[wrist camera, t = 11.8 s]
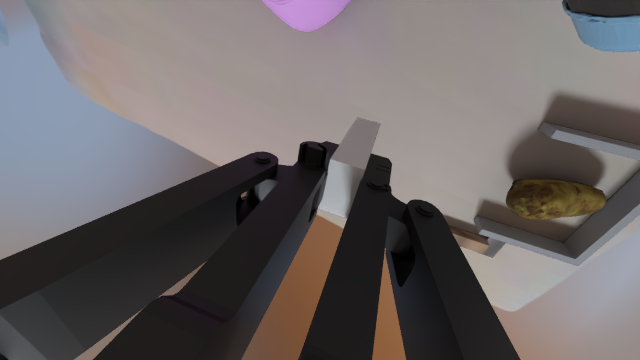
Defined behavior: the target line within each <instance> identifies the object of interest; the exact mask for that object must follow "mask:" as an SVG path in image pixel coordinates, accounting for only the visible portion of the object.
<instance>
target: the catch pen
mask: <svg viewBox="0 0 640 360" xmlns="http://www.w3.org/2000/svg"><path fill="white" fill-rule="evenodd" d="M538 130H540V131H541V132H542V133H544V134H545V135H547V136H548V137H550V138H552V139H556V140H560V141H564V142H568V143H572V144H576V145H580V146H584V147H588V148H592V149H596V150H600V151H604V152H608V153H612V154H616V155H620V156H624V157H628V158H632V159H636V160H640V145H636V144H632V143H628V142H624V141H620V140H616V139H611V138H607V137H603V136H599V135H595V134H591V133H587V132H582V131H578V130H574V129H570V128H566V127H562V126H558V125H554V124H549V123H545V122H543V123H542V124H541V126H540V127H539V129H538ZM639 215H640V170H639V171H638V172H637V173H636V174H635V175H634V176H633V177H632V178H631V179H630V180H629V181H628V182H627V183H626V184H625V185H624V186H623V187H622V188H620V189H619V190H618V191H617V192H616V193H615V194H614V195H613V196H612V197H611V198H610V199H609V200H608V201H607V202H606V204H605V206H604V207H603V208H602V209H600V210H599V211H596V212H595V213H594V214H593V215H592V216H591V217H590V218H589V219H588V220H587V221H586V222H585V223H584V224H583V225H582V226H581V227H579V228H578V229H577V230H576V231H575V232H574V233H573V234H572V235H571V236H570V237H569V238H568V239H567V240H566V241H565V242H564V243H561V242H558V241H555V240H552V239H549V238H546V237H542V236H539V235H536V234H533V233H530V232H527V231H523V230H520V229H517V228H514V227H511V226H507V225H504V224H501V223H498V222H495V221H492V220H488V219H485V218H482V217H479V216H477V217H476V218H475V219H474V222H475V225H476V228H477V231H478V233H479V234H481V235H484V236H487V237H490V238H493V239H496V240H499V241H502V242H505V243H508V244H511V245H514V246H517V247H521V248H524V249H527V250H530V251H533V252H536V253H539V254H542V255H545V256H548V257H551V258H554V259H557V260H560V261H563V262H567V263H570V264H573V265H576V266H579V265H580V264H581V263H583V262H584V261H585V260H586V259H587V258H589V257H590V256H591V255H592V254H593V253H595V252H596V251H597V250H598V249H599V248H600V247H602V246H603V245H604V244H605V243H606V242H608V241H609V240H610V239H611V238H612V237H614V236H615V235H616V234H617V233H618V232H620V231H621V230H622V229H623V228H624V227H626V226H627V225H628V224H629V223H630V222H631V221H633V220H634V219H635V218H636V217H637V216H639Z"/></svg>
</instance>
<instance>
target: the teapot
mask: <svg viewBox="0 0 640 360" xmlns="http://www.w3.org/2000/svg"><path fill="white" fill-rule="evenodd" d="M262 1H263V2H264V3H265V4H266V5H267V6H268V7H269V8H270V9H271V10H272V11H273V12H274V13H275V14H276V15H277V16H278V17H279V18H281V19H282V20H283V21H284V22H285V23H287V24H288V25H289V26H291V27H293V28H295V29H297V30H300V31H305V32H310V31H314V30H317V29H319V28H320V27H322V26H324V25H325V24H327V23H328V22H329V21H331V20H332V19H333V18H334V17H335V16H337V15H338V14H339V13H340V12H341V11H342V10H343V9H344V8H345V7H346V6H347V4H348V3H349V2H350V1H351V0H262Z"/></svg>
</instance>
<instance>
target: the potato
mask: <svg viewBox="0 0 640 360" xmlns="http://www.w3.org/2000/svg"><path fill="white" fill-rule="evenodd" d="M512 184H513V185H512V186H511V188H510V190H509V191H508V194H507V197H506V204H507V206H508V207H509V209H510V210H511V211H513V212H514V213H515V214H517V215H519V216H521V217H524V218H528V219H548V220H549V219H553V218H560V217H572V216H581V215H586V214H591V213H593V212H596V211H599V210H600V209H602V208H603V207H604V206H605V204H606V196H605V195H604V193H603V191H601V190H599V189H596V188H594V187H592V186H588V185H582V184H581V183H577V182H567V181H560V180H539V179H529V180H523V179H522V180H520V179H518V180H514V182H513V183H512Z"/></svg>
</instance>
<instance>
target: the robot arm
mask: <svg viewBox="0 0 640 360" xmlns="http://www.w3.org/2000/svg"><path fill="white" fill-rule="evenodd" d="M562 5H563V9H564V11H565V12H566V13H567V14H568V15H569V16H570V17H571V19H572V21H573V24H574V26H575V28H576V31H577V33H578V36H579V38H580V39H581V41H582V42H583V43H585V44H587V45H589V46H591V47H593V48H595V49H597V50H601V51H609V52H635V51H640V0H563V1H562ZM379 127H380V123H377V122H373V121H369V120H366V119H362V118H358V117H357V119H356V120H355V122H354V124H353V125H352V127H351V128H350V130H349V131H348V133H347V134H346V136H345V137H344V139H343V140H342V142H341V143H340V145H338V144H335V143H331V142H328V141H326V142H323V143H318V142H312V141H307V142H303V143H301V144H300V148H299V155H298V161H297V162H296V163H295V164H294V166H286V165H278V158H277V157H276V156H275V155H273V154H271V153H268V152H255V153H251V154H249V155H247V156H244V157H242V158H240V159H237V160H235V161H232V162H230V163H228V164H225V165H223V166H221V167H218V168H216V169H214V170H211V171H209V172H207V173H204V174H202V175H200V176H197V177H195V178H192V179H190V180H188V181H185V182H183V183H181V184H178V185H176V186H174V187H171V188H169V189H167V190H164V191H162V192H160V193H157V194H155V195H153V196H150V197H148V198H145V199H143V200H141V201H138V202H136V203H134V204H131V205H129V206H127V207H124V208H122V209H119V210H117V211H115V212H113V213H110V214H108V215H105V216H103V217H101V218H98V219H96V220H94V221H92V222H89V223H86V224H84V225H82V226H79V227H77V228H75V229H73V230H70V231H68V232H65V233H63V234H61V235H58V236H56V237H54V238H51V239H49V240H46V241H44V242H42V243H39V244H37V245H35V246H33V247H30V248H28V249H25V250H23V251H21V252H18V253H16V254H14V255H11V256H9V257H6V258H4V259H2V260H0V360H73V359H75V358H76V357H78V356H79V355H81V354H82V353H83V352H85V351H86V350H88V349H89V348H90V347H92V346H93V345H94V344H96V343H97V342H98V341H100V340H101V339H102V338H104V337H105V336H107V335H108V334H109V333H111V332H112V331H113V330H115V329H116V328H117V327H118V326H120V325H121V324H123V323H124V322H125V321H126V320H128V319H129V318H131V317H132V316H133V315H135V314H136V313H137V312H139V311H140V310H141V309H142V310H141V311H140V312H139V313H138V315H137V316H135V317H134V319H132V320H131V321H130V323H129V324H128V325H127V326H126V327H125V328H124V329H123V330H122V331H121V332H120V333H119V334H118V335H117V336H116V337H115V338H114V339H113V340H112V341H111V342H110V343H109V344H108V345H107V346H106V347H105V348H104V349H103V350H102V351H101V352H100V353H99V354H98V355H97V356H96V357H95V358H94V359H93V360H241V359H242V357H243V355H244V353H245V351H246V349H247V347H248V345H249V343H250V341H251V340H252V337H253V335H254V333H255V332H256V330H257V328H258V326H259V324H260V322H261V320H262V318H263V316H264V314H265V313H266V311H267V309H268V307H269V305H270V303H271V301H272V299H273V297H274V295H275V293H276V291H277V290H278V288H279V286H280V284H281V282H282V280H283V278H284V276H285V274H286V272H287V270H288V268H289V266H290V265H291V263H292V261H293V259H294V257H295V255H296V253H297V251H298V249H299V247H300V245H301V243H302V241H303V239H304V238H305V236H306V234H307V232H308V230H309V228H310V226H311V224H312V222H313V220H314V218H315V216H316V213H317V209H318V206H319V204H320V207H319V209H321V210H324V211H327V212H330V213H333V214H336V215H338V216H341V217H344V218H347V221H346V224H345V227H344V230H343V233H342V236H341V238H340V242H339V244H338V247H337V250H336V253H335V256H334V259H333V262H332V264H331V267H330V270H329V273H328V276H327V279H326V282H325V285H324V288H323V291H322V293H321V296H320V299H319V302H318V305H317V308H316V311H315V314H314V317H313V320H312V322H311V325H310V328H309V332H308V334H307V337H306V340H305V343H304V346H303V348H302V351H301V354H300V356H299V359H298V360H372V355H373V345H374V337H375V329H376V320H377V312H378V311H377V310H378V303H379V294H380V286H381V277H382V267H383V260H384V251H385V248H386V259H387V264H388V269H389V273H390V279H391V284H392V289H393V294H394V299H395V304H396V309H397V314H398V319H399V325H400V330H401V335H402V339H403V345H404V350H405V355H406V360H520V358H519V356H518V354H517V352H516V351H515V349H514V347H513V345H512V343H511V341H510V339H509V338H508V336H507V334H506V332H505V330H504V328H503V326H502V325H501V323H500V321H499V319H498V317H497V315H496V313H495V312H494V310H493V308H492V306H491V304H490V302H489V300H488V298H487V297H486V295H485V293H484V291H483V289H482V287H481V285H480V284H479V282H478V280H477V278H476V276H475V274H474V272H473V271H472V269H471V267H470V265H469V263H468V261H467V259H466V258H465V256H464V254H463V252H462V250H461V248H460V246H459V245H458V243H457V241H456V239H455V237H454V235H453V233H452V232H451V230H450V228H449V226H448V224H447V222H446V220H445V219H444V217H443V215H442V213H441V212H440V211H439V209H437V208H436V207H435V206H434V205H432V204H431V203H429V202H426V201H422V200H411V201H409V202H408V204H405V203H403V202H401V201H400V200H398V199H396V198H395V197H394V196H393V195H392V194H391V187H390V185H389V184H390V176H391V168H392V163H391V162H390V160H389V159H388V158H385V157H381V156H378V155H374V154H371V151H372V148H373V145H374V142H375V139H376V136H377V133H378V130H379ZM244 192H246V196H244V197H242V198H241V194H242V193H244ZM320 202H321V203H320ZM207 260H208V261H207ZM206 261H207V262H206ZM204 262H206V263H205V264H204V265H203V266H202V267H201V268H200V269H199V271H198V272H197V273H196V274H195V275H194V276H193V277H192V278H191V279H190V280H189V282H188V283H187V284H186V285H185V286H184V287H183V288H182V289H181V290H180V291H179V292H178V293H176V294H174V295H171V296H170V295H169V296H161V297H159V296H160V295H162V294H163V293H164V292H166V291H167V290H168V289H169V288H171V287H172V286H173V285H175V284H176V283H177V282H179V281H180V280H182V279H183V278H184V277H186V276H187V275H188V274H190V273H191V272H192V271H194V270H195V269H196V268H198V267H199V266H200V265H202V264H203V263H204ZM158 297H159V298H158ZM156 298H157V299H156ZM145 306H146V307H145ZM144 307H145V308H144ZM143 308H144V309H143Z"/></svg>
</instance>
